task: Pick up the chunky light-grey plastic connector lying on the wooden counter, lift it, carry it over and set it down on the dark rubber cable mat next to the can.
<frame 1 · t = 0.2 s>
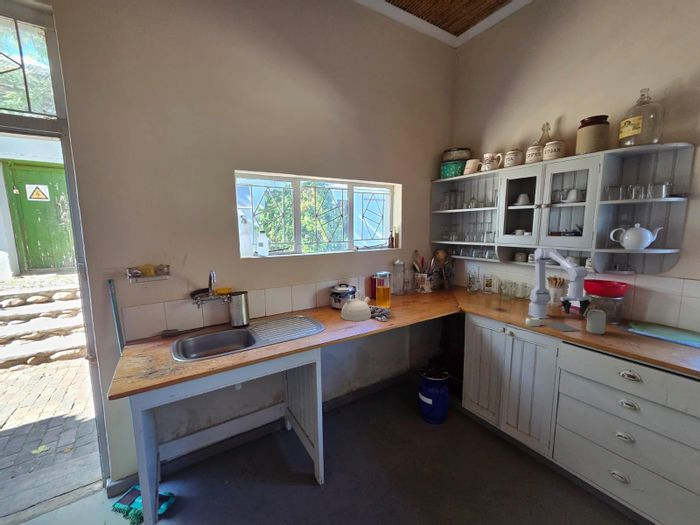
hand: (574, 313, 154), 10 cm above the worktop, fingers open, 7 cm apart
connector: (533, 325, 166), on the worktop
mat: (560, 327, 162), on the worktop
can: (595, 332, 153), on the worktop
kettle: (356, 316, 190), on the worktop
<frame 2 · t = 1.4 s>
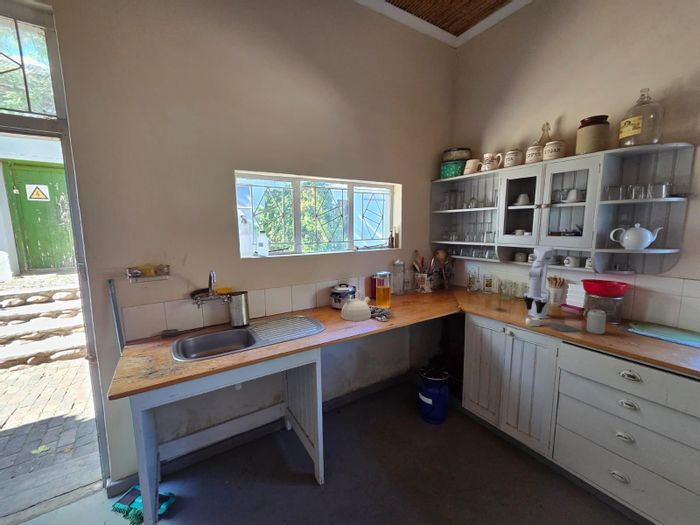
hand: (533, 311, 165), 8 cm above the worktop, fingers open, 7 cm apart
nothing on the worktop moved.
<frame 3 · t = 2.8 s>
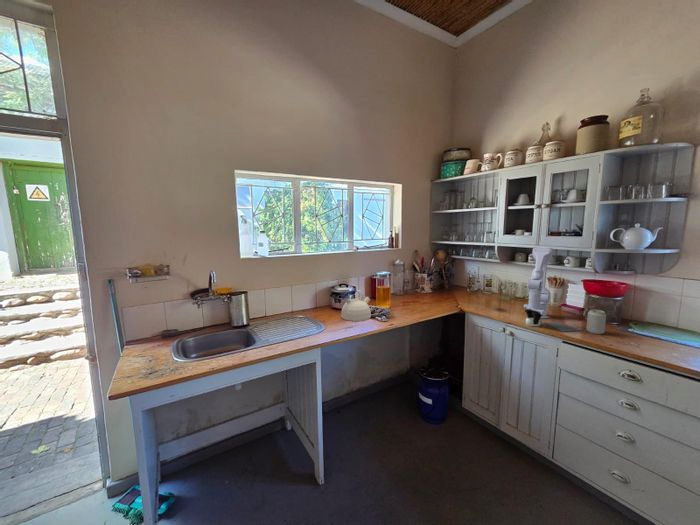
hand: (533, 322, 165), 1 cm above the worktop, fingers closed on connector, 3 cm apart
connector: (533, 325, 166), on the worktop, touching gripper
everything else where it was.
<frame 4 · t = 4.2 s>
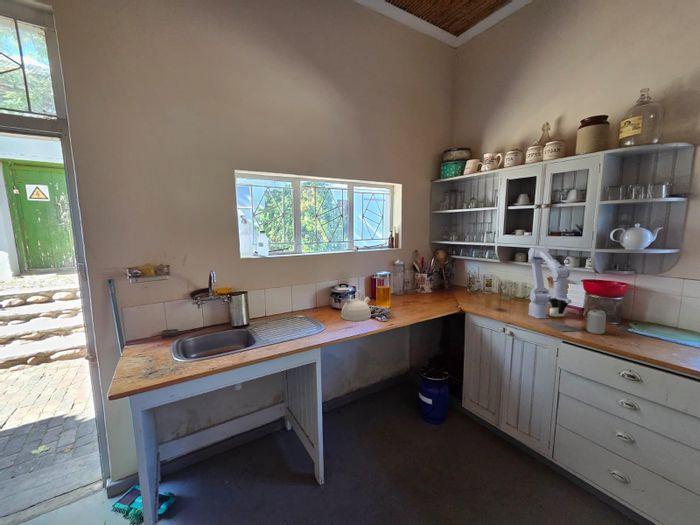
hand: (557, 312, 161), 8 cm above the worktop, fingers closed on connector, 3 cm apart
connector: (557, 315, 161), point 7 cm above the worktop, touching gripper
everything else where it was.
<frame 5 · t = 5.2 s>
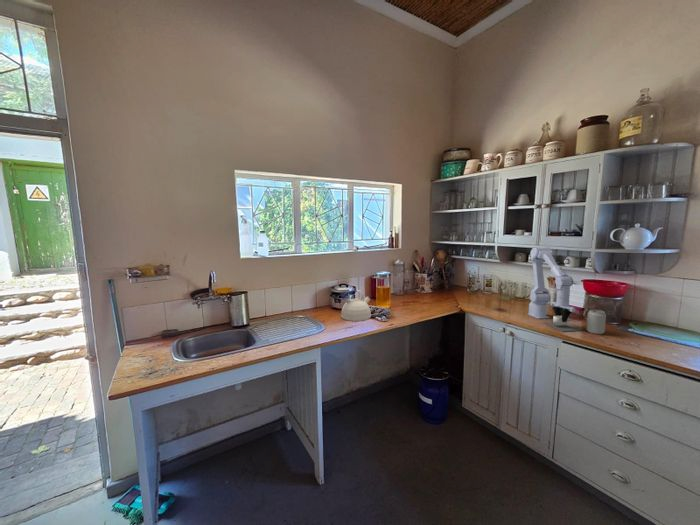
hand: (561, 320, 161), 4 cm above the worktop, fingers closed on connector, 3 cm apart
connector: (560, 323, 161), point 2 cm above the worktop, touching gripper
everything else where it was.
when the fingers open (3 cm above the worktop, at t = 5.7 s): connector stays where it is, resting on mat.
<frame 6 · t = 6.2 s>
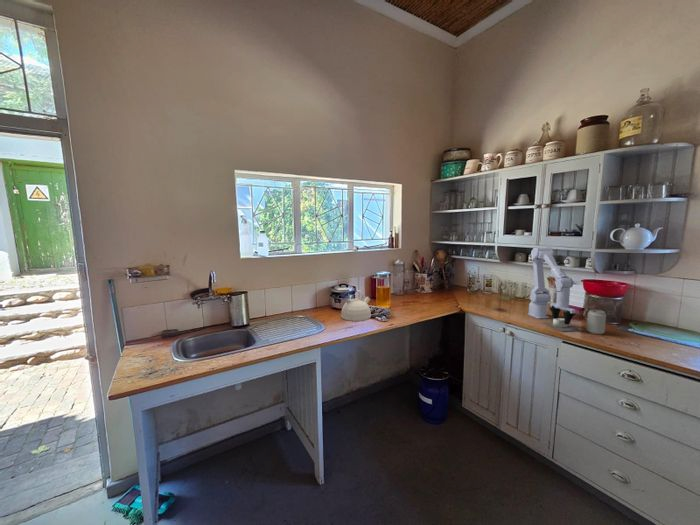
hand: (561, 322, 161), 3 cm above the worktop, fingers open, 7 cm apart
connector: (560, 326, 162), resting on mat
everything else where it was.
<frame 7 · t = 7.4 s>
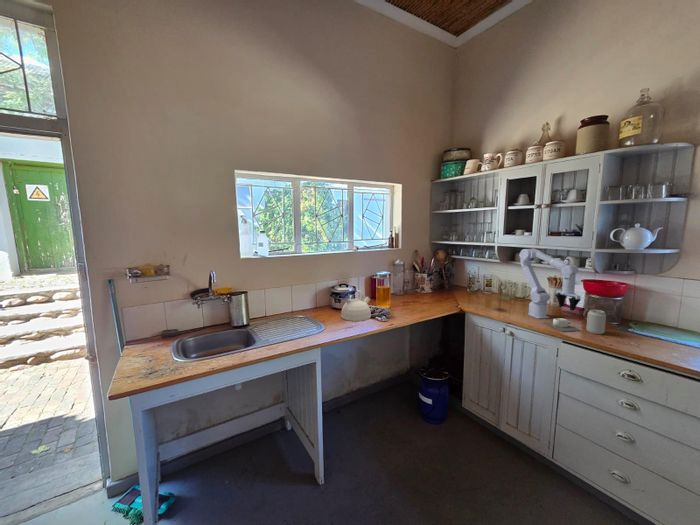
hand: (566, 308, 166), 9 cm above the worktop, fingers open, 7 cm apart
nothing on the worktop moved.
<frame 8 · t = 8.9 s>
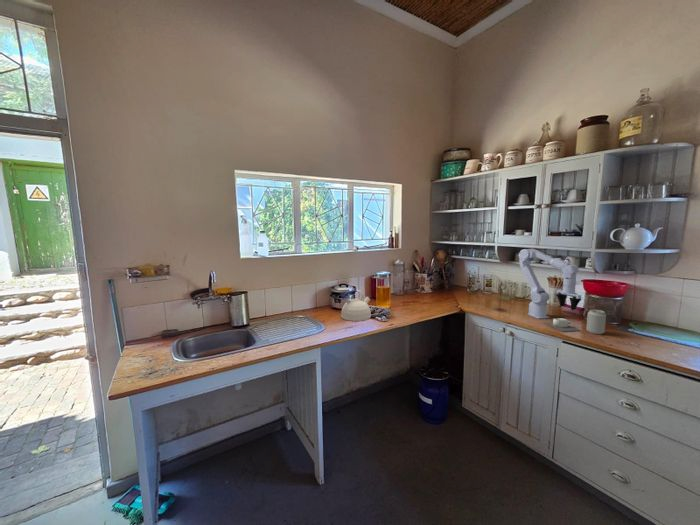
hand: (567, 307, 166), 9 cm above the worktop, fingers open, 7 cm apart
nothing on the worktop moved.
at the end: connector inside the target area on the mat (0.2 cm from its centre), point 0.5 cm above the mat's base; the gripper is holding nothing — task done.
